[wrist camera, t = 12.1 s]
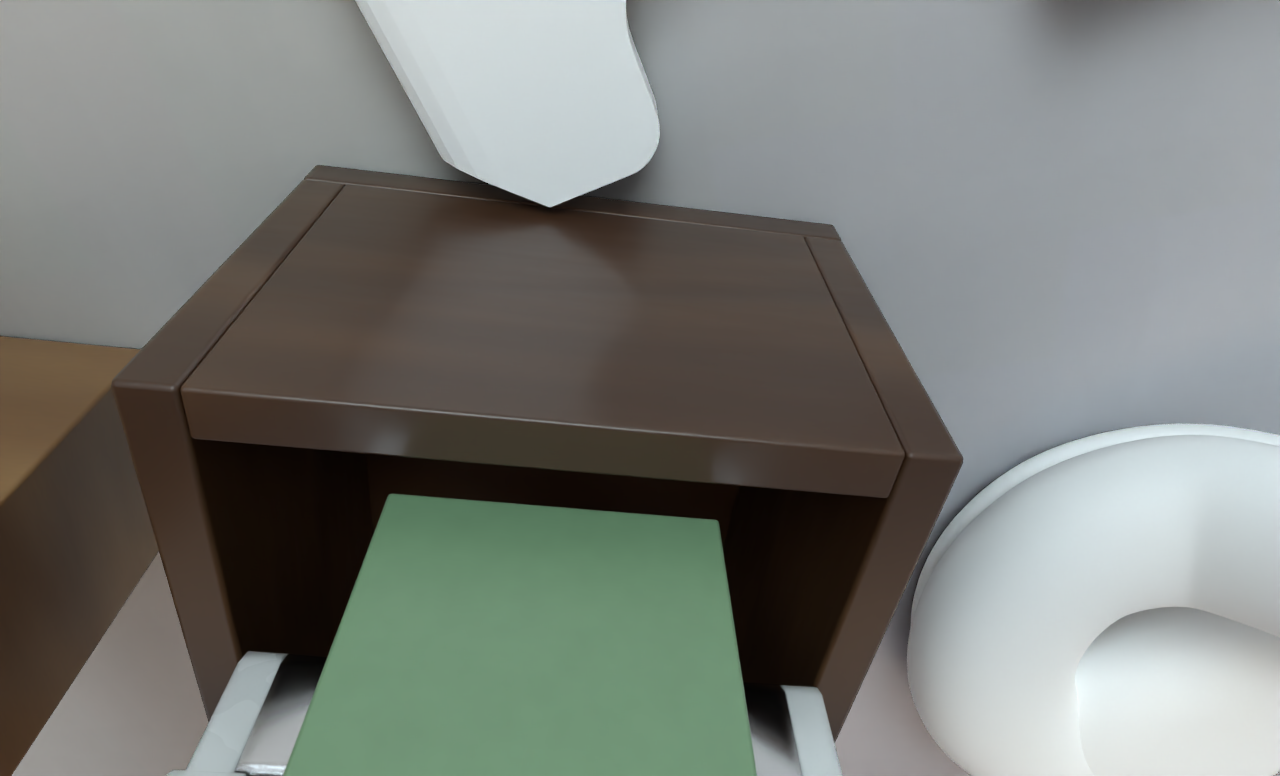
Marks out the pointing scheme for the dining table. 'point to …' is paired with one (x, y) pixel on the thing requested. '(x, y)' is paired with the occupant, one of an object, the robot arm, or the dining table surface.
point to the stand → (61, 524)
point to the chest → (533, 409)
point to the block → (531, 649)
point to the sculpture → (1110, 611)
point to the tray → (524, 89)
